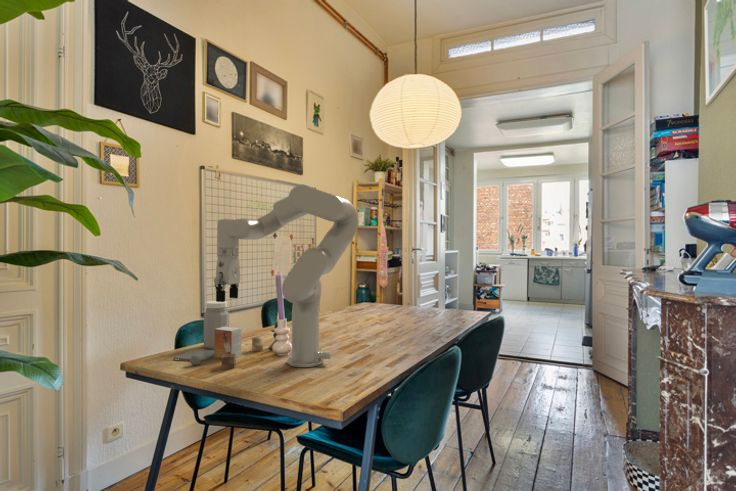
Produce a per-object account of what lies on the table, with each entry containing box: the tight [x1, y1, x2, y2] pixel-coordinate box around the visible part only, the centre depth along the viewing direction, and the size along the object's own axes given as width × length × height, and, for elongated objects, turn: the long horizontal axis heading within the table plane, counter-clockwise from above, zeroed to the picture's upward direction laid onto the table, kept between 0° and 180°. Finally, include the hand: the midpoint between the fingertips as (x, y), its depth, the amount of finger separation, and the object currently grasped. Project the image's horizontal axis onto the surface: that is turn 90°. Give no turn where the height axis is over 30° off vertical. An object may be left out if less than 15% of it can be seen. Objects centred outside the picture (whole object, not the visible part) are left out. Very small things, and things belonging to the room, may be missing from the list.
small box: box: [213, 326, 243, 359], centre depth 149 cm, size 8×6×10 cm
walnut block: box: [221, 354, 237, 370], centre depth 138 cm, size 4×4×4 cm
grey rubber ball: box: [189, 354, 201, 366], centre depth 139 cm, size 4×4×4 cm
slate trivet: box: [172, 348, 215, 362], centre depth 150 cm, size 12×12×1 cm
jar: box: [203, 300, 230, 350], centre depth 164 cm, size 10×10×18 cm
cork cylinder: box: [251, 336, 264, 353], centre depth 158 cm, size 4×4×5 cm
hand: (227, 299), depth 149 cm, fingers open, 9 cm apart
